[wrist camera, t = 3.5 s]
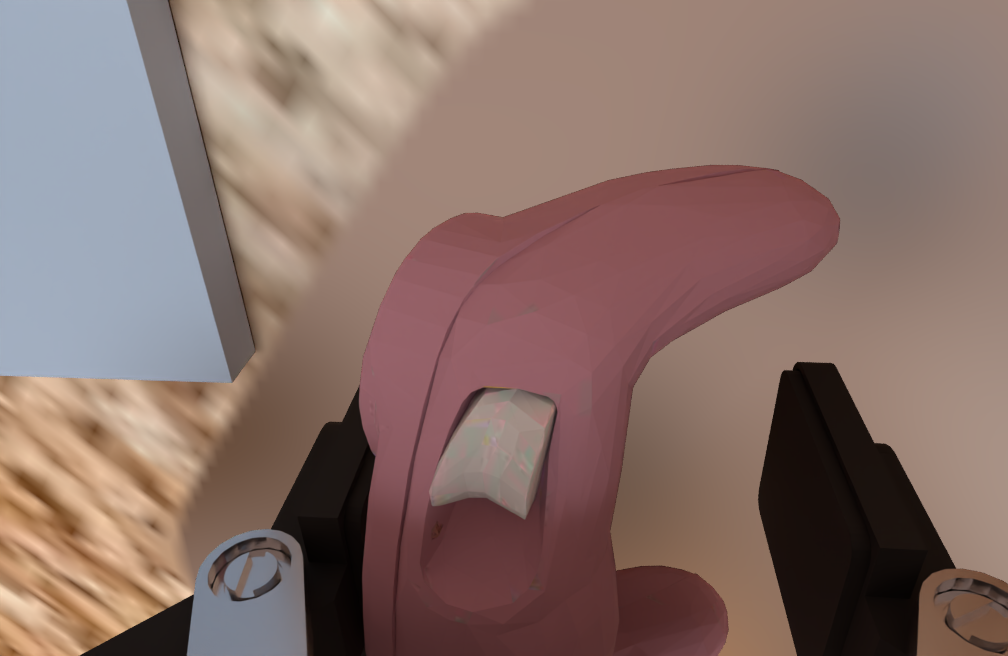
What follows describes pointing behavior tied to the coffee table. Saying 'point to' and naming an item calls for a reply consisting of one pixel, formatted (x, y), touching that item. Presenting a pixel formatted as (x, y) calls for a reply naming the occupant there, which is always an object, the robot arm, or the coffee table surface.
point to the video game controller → (551, 409)
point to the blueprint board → (108, 202)
